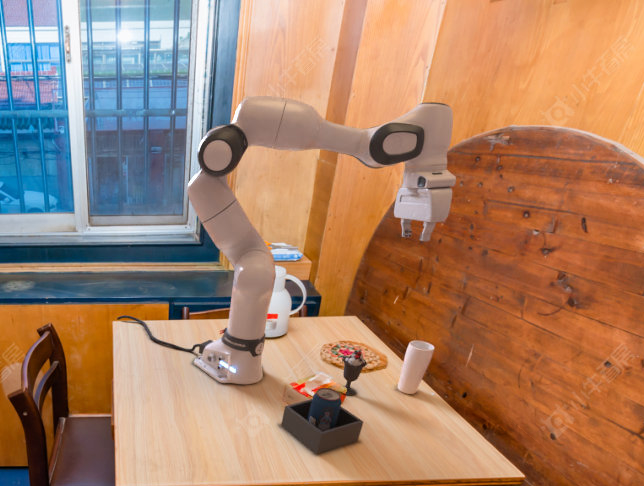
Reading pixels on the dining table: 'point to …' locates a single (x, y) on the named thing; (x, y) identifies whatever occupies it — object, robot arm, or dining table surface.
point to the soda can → (325, 409)
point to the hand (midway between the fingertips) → (415, 238)
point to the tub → (315, 438)
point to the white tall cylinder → (415, 366)
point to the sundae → (353, 369)
